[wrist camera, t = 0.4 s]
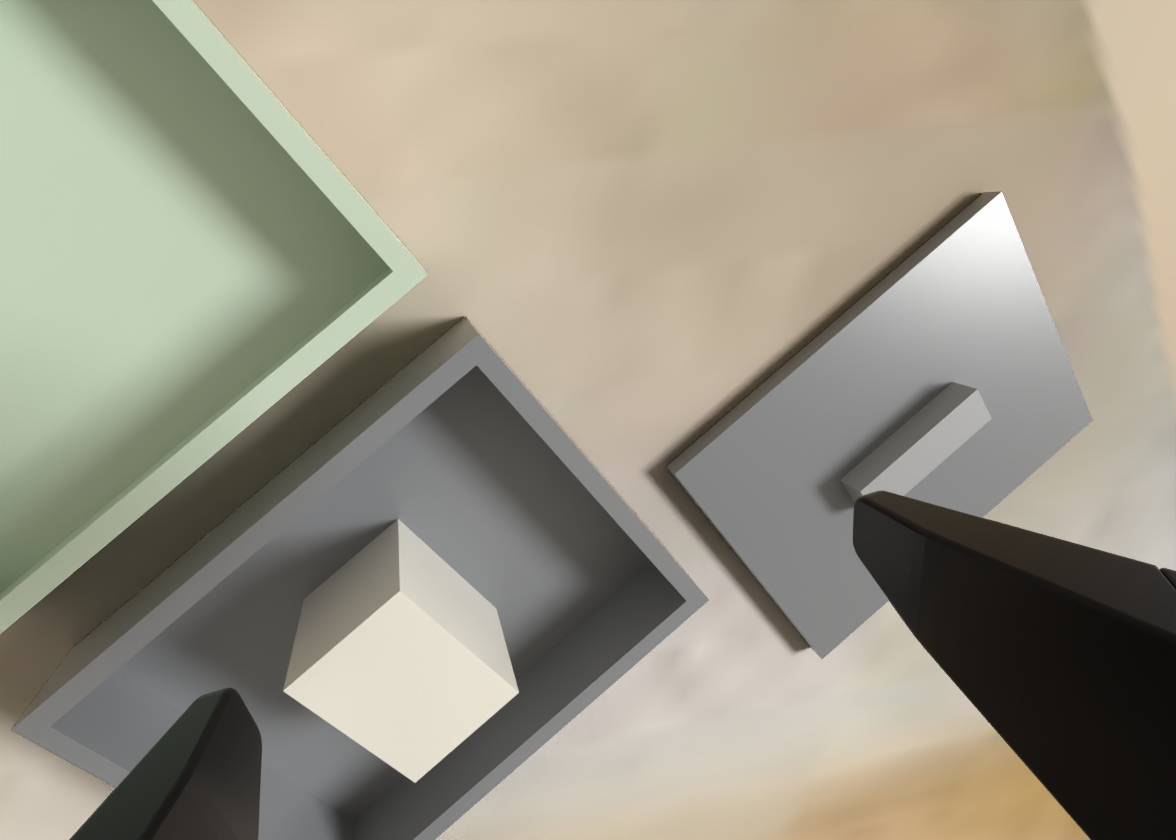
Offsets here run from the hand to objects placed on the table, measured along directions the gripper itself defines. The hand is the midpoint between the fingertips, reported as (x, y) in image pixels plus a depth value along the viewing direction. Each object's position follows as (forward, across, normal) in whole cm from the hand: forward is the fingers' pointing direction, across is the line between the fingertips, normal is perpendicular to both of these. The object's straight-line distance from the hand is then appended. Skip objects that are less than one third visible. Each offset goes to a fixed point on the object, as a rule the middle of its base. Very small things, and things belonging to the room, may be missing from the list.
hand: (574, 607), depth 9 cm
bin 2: (+12, +4, +8) cm, 15 cm away
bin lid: (+13, -16, +8) cm, 22 cm away
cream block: (+12, +4, +8) cm, 15 cm away
